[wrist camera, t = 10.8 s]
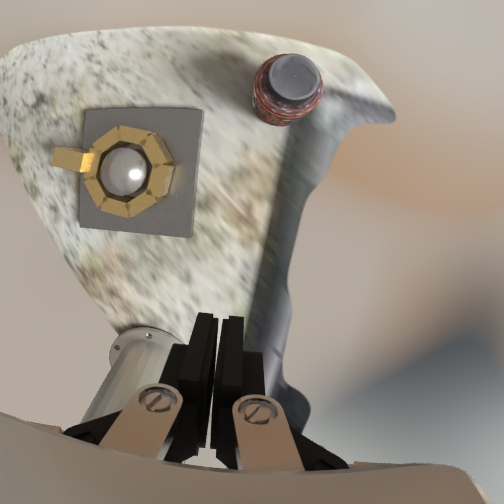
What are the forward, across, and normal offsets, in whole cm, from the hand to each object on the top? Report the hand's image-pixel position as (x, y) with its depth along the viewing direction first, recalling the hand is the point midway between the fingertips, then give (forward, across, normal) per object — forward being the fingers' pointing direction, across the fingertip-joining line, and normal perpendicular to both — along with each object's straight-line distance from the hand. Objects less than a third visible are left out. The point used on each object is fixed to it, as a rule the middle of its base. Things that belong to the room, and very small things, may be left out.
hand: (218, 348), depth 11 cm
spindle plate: (+25, +12, -5) cm, 28 cm away
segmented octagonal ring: (+23, +14, -5) cm, 28 cm away
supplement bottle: (+25, -3, -14) cm, 29 cm away
